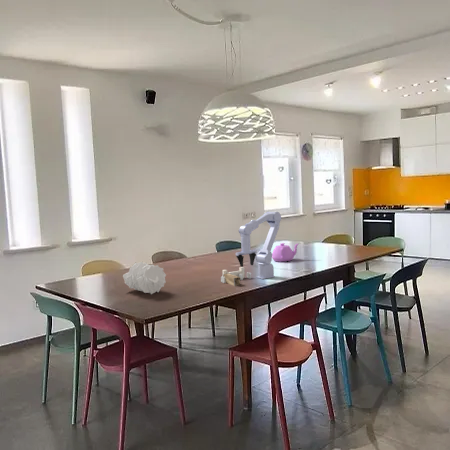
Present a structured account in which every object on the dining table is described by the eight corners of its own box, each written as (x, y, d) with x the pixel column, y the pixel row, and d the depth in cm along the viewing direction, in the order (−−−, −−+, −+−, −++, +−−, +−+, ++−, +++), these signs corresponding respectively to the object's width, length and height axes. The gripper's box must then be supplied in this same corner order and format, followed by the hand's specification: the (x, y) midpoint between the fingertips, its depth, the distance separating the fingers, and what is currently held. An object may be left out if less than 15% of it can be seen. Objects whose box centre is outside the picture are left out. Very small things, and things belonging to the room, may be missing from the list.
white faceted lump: (142, 294, 294) (163, 298, 275) (118, 286, 284) (138, 290, 264) (150, 266, 298) (172, 268, 279) (127, 257, 288) (148, 259, 269)
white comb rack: (246, 276, 311) (245, 266, 310) (251, 278, 306) (250, 267, 305) (219, 281, 301) (218, 270, 300) (224, 283, 295) (223, 272, 295)
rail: (228, 281, 300) (228, 273, 300) (240, 285, 287) (239, 277, 287) (223, 282, 299) (223, 274, 298) (235, 286, 285) (234, 278, 285)
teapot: (299, 262, 355) (299, 244, 353) (271, 263, 358) (270, 245, 357) (299, 258, 376) (299, 240, 375) (272, 258, 380) (272, 241, 379)
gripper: (251, 242, 302) (252, 263, 303) (232, 245, 295) (233, 266, 296) (258, 243, 296) (259, 264, 297) (238, 246, 289) (239, 267, 290)
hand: (246, 265), depth 296 cm, fingers open, 7 cm apart
